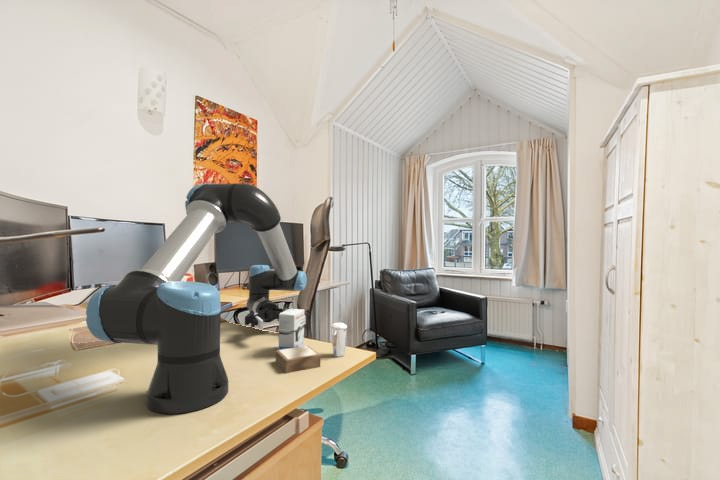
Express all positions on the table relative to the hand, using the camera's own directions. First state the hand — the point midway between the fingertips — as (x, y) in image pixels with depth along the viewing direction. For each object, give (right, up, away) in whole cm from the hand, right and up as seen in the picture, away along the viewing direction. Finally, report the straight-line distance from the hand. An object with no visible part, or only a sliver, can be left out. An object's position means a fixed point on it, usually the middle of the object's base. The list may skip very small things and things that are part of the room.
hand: (284, 322), depth 108 cm
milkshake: (+18, -7, -9) cm, 21 cm away
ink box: (+4, -7, -7) cm, 10 cm away
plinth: (+7, -7, -17) cm, 19 cm away
